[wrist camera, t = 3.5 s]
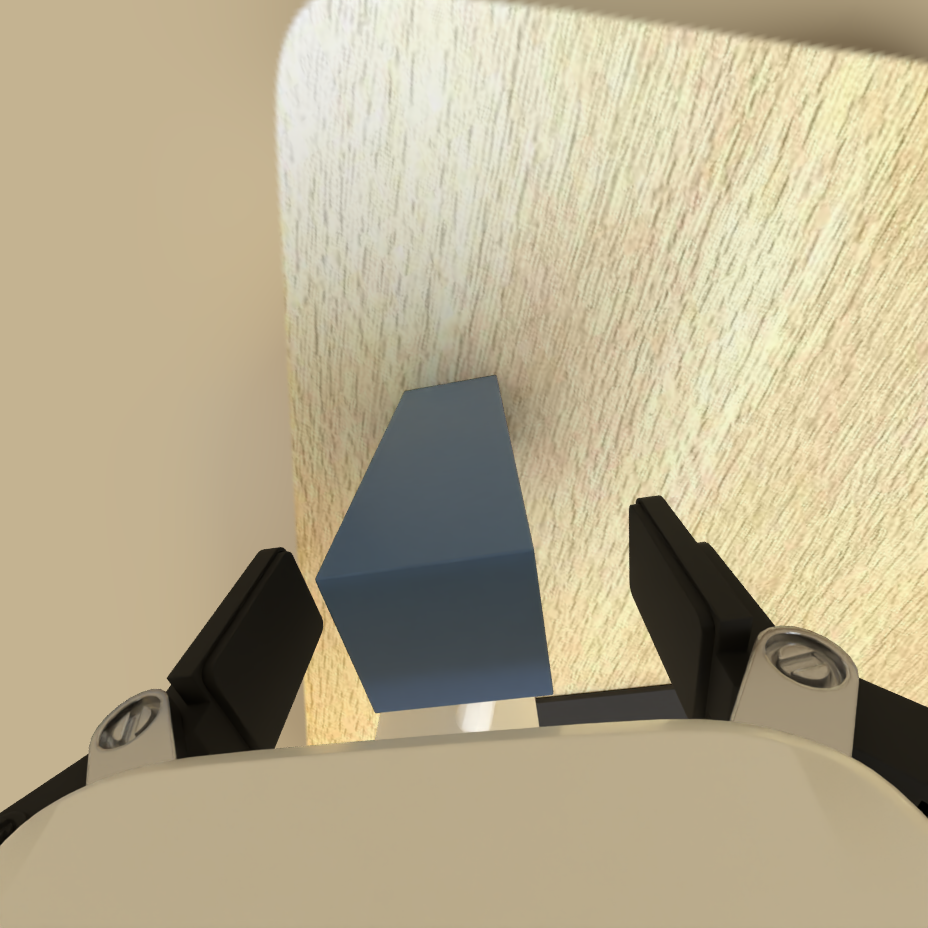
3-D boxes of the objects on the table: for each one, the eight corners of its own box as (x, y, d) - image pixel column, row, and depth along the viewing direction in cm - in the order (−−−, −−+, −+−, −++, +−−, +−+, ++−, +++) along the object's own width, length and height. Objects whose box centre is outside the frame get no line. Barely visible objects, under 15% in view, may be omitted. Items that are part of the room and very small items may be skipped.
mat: (444, 829, 39) (444, 834, 39) (396, 712, 31) (395, 718, 31) (684, 810, 37) (686, 816, 37) (697, 681, 29) (700, 686, 29)
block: (424, 472, 22) (374, 714, 10) (403, 390, 20) (313, 579, 8) (509, 458, 22) (554, 696, 10) (496, 374, 20) (533, 549, 8)
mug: (414, 521, 23) (378, 693, 14) (555, 544, 24) (608, 723, 15) (391, 662, 29) (355, 853, 20) (508, 678, 29) (525, 870, 20)
